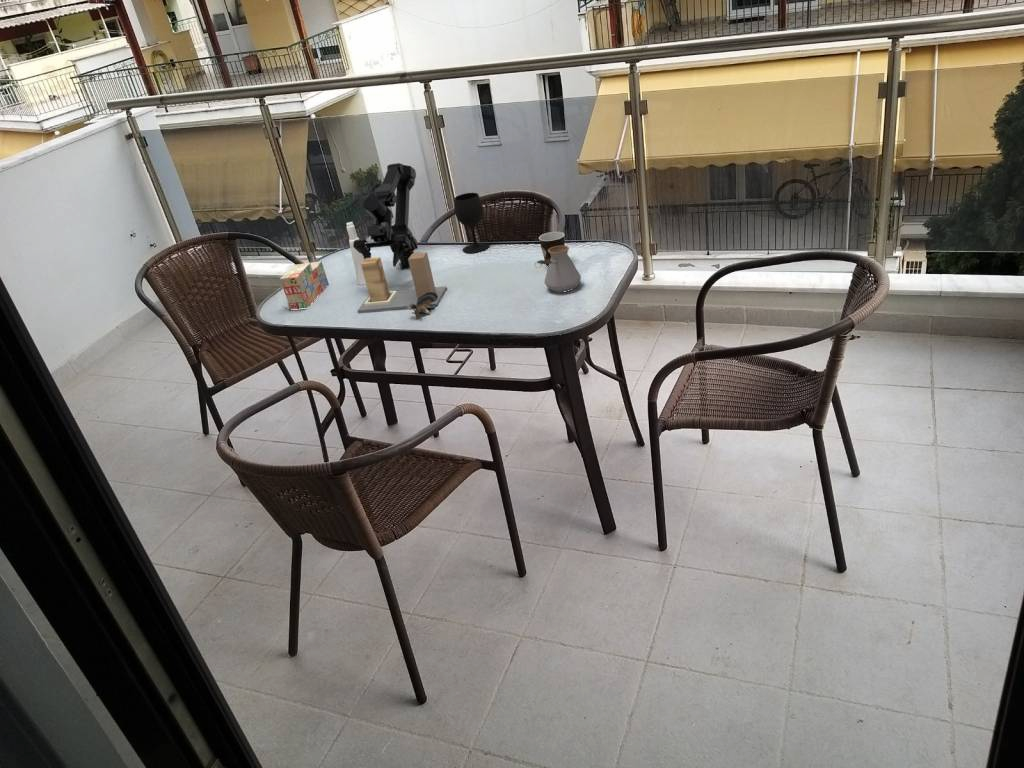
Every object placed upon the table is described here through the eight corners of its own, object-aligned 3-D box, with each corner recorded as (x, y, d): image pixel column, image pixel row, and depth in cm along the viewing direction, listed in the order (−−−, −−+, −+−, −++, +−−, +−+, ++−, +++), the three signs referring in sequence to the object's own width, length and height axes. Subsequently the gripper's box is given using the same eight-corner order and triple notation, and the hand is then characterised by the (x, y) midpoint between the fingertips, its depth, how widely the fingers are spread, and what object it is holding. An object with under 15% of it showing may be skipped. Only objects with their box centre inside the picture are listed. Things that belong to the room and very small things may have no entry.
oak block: (376, 297, 256) (365, 258, 249) (390, 296, 255) (380, 256, 248) (371, 303, 252) (360, 264, 245) (385, 302, 251) (375, 262, 244)
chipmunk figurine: (430, 317, 234) (444, 300, 240) (414, 300, 232) (428, 283, 238) (417, 326, 239) (431, 309, 245) (401, 310, 238) (415, 294, 243)
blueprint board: (371, 295, 261) (360, 254, 254) (447, 288, 255) (437, 246, 248) (358, 313, 249) (346, 270, 242) (436, 306, 243) (426, 262, 236)
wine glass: (462, 246, 291) (451, 195, 281) (488, 241, 291) (479, 190, 281) (463, 255, 281) (452, 202, 272) (491, 250, 282) (481, 197, 272)
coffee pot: (554, 279, 247) (547, 235, 240) (587, 280, 242) (581, 235, 235) (526, 308, 231) (519, 261, 224) (561, 309, 226) (555, 262, 219)
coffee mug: (568, 267, 255) (565, 238, 250) (543, 270, 255) (538, 242, 251) (567, 255, 265) (563, 227, 260) (542, 258, 266) (538, 231, 261)
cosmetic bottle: (358, 286, 271) (341, 227, 260) (356, 281, 276) (339, 222, 265) (375, 282, 272) (359, 222, 261) (372, 277, 277) (356, 218, 266)
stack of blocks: (313, 286, 279) (303, 254, 273) (329, 284, 278) (319, 253, 272) (290, 311, 261) (279, 278, 255) (307, 309, 259) (296, 276, 253)
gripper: (347, 217, 253) (344, 260, 249) (400, 211, 249) (398, 255, 245) (361, 231, 264) (359, 273, 260) (412, 225, 260) (410, 268, 256)
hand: (381, 267), depth 255 cm, fingers open, 9 cm apart
